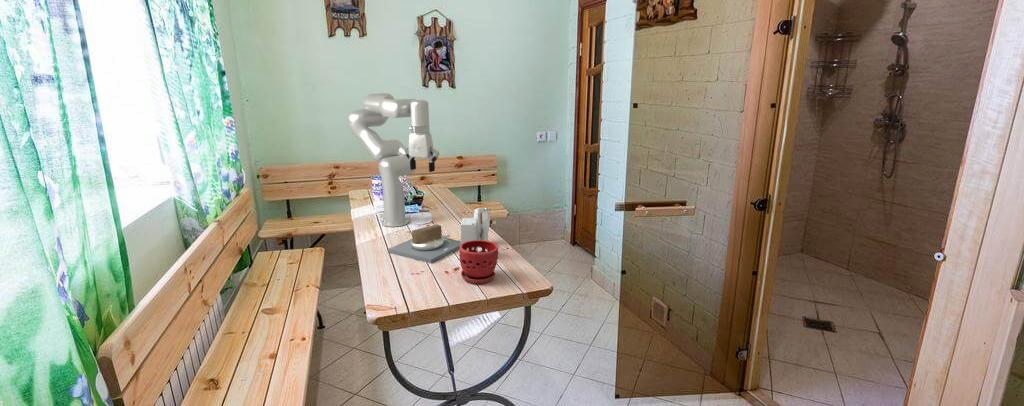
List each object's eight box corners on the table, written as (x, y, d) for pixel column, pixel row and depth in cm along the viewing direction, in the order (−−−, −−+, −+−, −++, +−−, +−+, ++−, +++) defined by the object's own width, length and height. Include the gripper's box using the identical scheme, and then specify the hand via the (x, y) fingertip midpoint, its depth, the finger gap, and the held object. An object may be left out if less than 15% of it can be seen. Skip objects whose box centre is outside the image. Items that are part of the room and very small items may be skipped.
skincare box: (463, 253, 184) (462, 217, 180) (478, 253, 184) (477, 217, 180) (460, 261, 176) (459, 223, 172) (476, 261, 176) (476, 224, 172)
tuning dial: (423, 253, 180) (422, 235, 178) (404, 244, 189) (403, 228, 187) (459, 242, 192) (458, 225, 190) (440, 234, 201) (439, 219, 199)
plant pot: (467, 289, 153) (466, 254, 150) (455, 274, 165) (454, 242, 162) (504, 282, 158) (504, 249, 155) (490, 268, 170) (489, 237, 167)
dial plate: (387, 252, 185) (387, 248, 185) (424, 236, 204) (424, 233, 203) (431, 263, 175) (431, 259, 174) (466, 245, 193) (466, 241, 192)
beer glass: (487, 248, 190) (487, 212, 186) (471, 247, 191) (470, 211, 187) (491, 242, 196) (491, 208, 192) (475, 241, 198) (475, 207, 194)
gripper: (398, 130, 197) (400, 170, 202) (432, 132, 190) (434, 173, 194) (409, 128, 204) (411, 167, 208) (442, 130, 196) (444, 170, 201)
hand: (422, 170), depth 201 cm, fingers open, 9 cm apart
